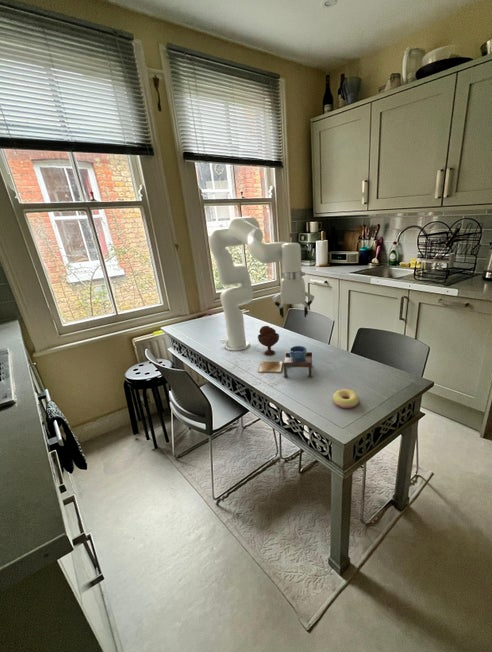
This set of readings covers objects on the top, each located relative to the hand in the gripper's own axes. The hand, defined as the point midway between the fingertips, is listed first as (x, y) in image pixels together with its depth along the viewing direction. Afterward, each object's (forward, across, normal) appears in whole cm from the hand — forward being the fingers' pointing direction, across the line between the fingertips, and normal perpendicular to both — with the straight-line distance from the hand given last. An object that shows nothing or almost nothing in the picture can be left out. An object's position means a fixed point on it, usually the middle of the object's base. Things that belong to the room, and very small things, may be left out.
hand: (294, 316), depth 133 cm
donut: (+26, -19, +26) cm, 42 cm away
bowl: (+19, -1, +2) cm, 19 cm away
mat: (+25, +12, -3) cm, 28 cm away
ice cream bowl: (+25, +14, -19) cm, 35 cm away
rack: (+25, -1, +2) cm, 25 cm away
